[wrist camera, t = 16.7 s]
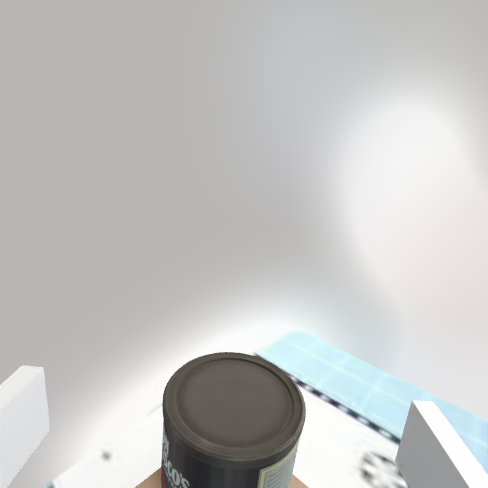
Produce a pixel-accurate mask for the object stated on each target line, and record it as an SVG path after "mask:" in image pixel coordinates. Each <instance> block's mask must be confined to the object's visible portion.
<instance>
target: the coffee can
mask: <svg viewBox="0 0 488 488" xmlns="http://www.w3.org/2000/svg"><path fill="white" fill-rule="evenodd" d="M305 414H306V409H305V402H304V399H303V396H302V393H301V391H300V390H299V388H298V386H297V385H296V383H295V382H294V380H293V379H292V378H291V377H290V376H289V375H288V374H287V373H285V372H284V371H283V370H282V369H280V368H279V367H277V366H276V365H274V364H272V363H270V362H268V361H266V360H264V359H261V358H258V357H255V356H251V355H247V354H242V353H233V352H229V353H228V352H223V353H214V354H209V355H205V356H201V357H198V358H196V359H193V360H192V361H189V362H188V363H186V364H185V365H183V366H182V367H181V368H180V369H178V370H177V371H176V372H175V374H173V376H172V377H171V379H170V380H169V382H168V383H167V385H166V387H165V390H164V394H163V417H164V425H163V443H162V467H161V488H289V487H290V482H291V477H292V472H293V467H294V462H295V457H296V452H297V447H298V442H299V437H300V435H301V432H302V429H303V426H304V422H305Z"/></svg>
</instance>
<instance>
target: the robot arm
mask: <svg viewBox="0 0 488 488" xmlns="http://www.w3.org/2000/svg"><path fill="white" fill-rule="evenodd" d="M44 378H45V377H44V369H43V367H32V366H21V367H20V368H19V369H18V370H17V371H15V372H14V374H12V375H11V376H10V377H9V378H8V379H7V380H6V381H4V382H3V383H2V384H1V385H0V488H7V487H8V485H9V484H10V483H11V481H12V480H13V479H14V477H15V476H16V475H17V473H18V472H19V470H20V469H21V468H22V467H23V465H24V464H25V462H26V461H27V460H28V458H29V457H30V456H31V454H32V453H33V452H34V450H35V449H36V448H37V446H38V445H39V444H40V442H41V441H42V440H43V438H44V437H45V435H46V434H47V433H48V431H49V430H50V425H49V416H48V407H47V397H46V388H45V379H44ZM395 461H396V463H397V465H398V467H399V469H400V471H401V473H402V475H403V478H404V480H405V482H406V484H407V486H408V488H488V475H487V474H486V472H485V471H484V470H483V468H482V467H481V465H480V464H479V463H478V461H477V460H476V459H475V457H474V456H473V455H472V453H471V452H470V451H469V449H468V448H467V447H466V445H465V444H464V443H463V441H462V440H461V438H460V437H459V436H458V434H457V433H456V432H455V430H454V429H453V428H452V426H451V425H450V424H449V422H448V421H447V420H446V418H445V417H444V415H443V414H442V413H441V411H440V410H439V409H438V407H437V406H436V405H435V403H434V402H426V401H415V400H412V403H411V406H410V410H409V413H408V417H407V420H406V424H405V428H404V431H403V435H402V438H401V442H400V445H399V449H398V452H397V456H396V460H395Z"/></svg>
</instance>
